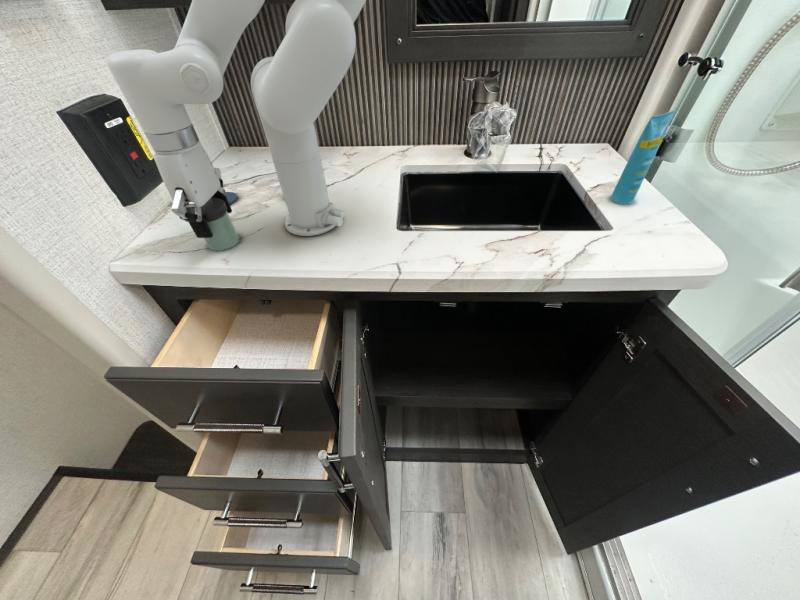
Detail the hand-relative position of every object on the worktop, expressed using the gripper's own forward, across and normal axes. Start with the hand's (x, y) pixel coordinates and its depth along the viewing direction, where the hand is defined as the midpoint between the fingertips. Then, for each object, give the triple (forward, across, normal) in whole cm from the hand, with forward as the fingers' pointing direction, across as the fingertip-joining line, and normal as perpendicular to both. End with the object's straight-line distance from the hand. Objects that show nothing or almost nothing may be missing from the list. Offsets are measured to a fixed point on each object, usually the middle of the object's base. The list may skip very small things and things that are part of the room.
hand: (215, 224), depth 70 cm
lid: (-4, 0, 0) cm, 4 cm away
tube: (+5, -17, +93) cm, 94 cm away
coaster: (+5, -19, -9) cm, 22 cm away
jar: (+5, 0, 0) cm, 5 cm away
